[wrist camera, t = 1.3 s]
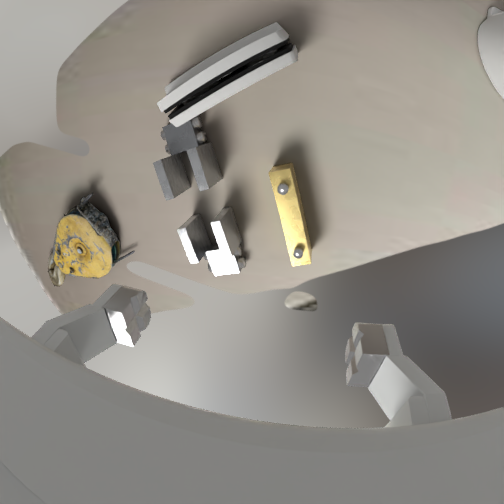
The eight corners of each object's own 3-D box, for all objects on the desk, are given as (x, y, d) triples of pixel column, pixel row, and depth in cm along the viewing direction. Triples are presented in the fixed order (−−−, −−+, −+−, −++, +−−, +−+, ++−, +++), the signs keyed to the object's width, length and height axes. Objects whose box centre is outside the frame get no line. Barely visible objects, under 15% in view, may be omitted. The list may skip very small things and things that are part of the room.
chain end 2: (231, 206, 36) (219, 220, 32) (249, 264, 40) (241, 284, 35) (192, 215, 38) (177, 229, 33) (212, 269, 41) (201, 288, 37)
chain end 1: (202, 113, 30) (185, 114, 26) (222, 178, 34) (208, 188, 30) (163, 128, 32) (143, 132, 28) (183, 189, 36) (166, 200, 32)
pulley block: (24, 258, 45) (76, 197, 33) (38, 243, 49) (98, 181, 38) (61, 302, 52) (131, 267, 40) (73, 286, 56) (146, 246, 45)
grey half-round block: (279, 21, 23) (284, 15, 16) (298, 51, 26) (311, 58, 19) (166, 86, 29) (135, 107, 22) (186, 111, 32) (162, 140, 25)
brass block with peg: (292, 162, 32) (289, 169, 27) (311, 248, 37) (310, 267, 32) (273, 166, 32) (267, 174, 28) (294, 251, 37) (291, 269, 33)
